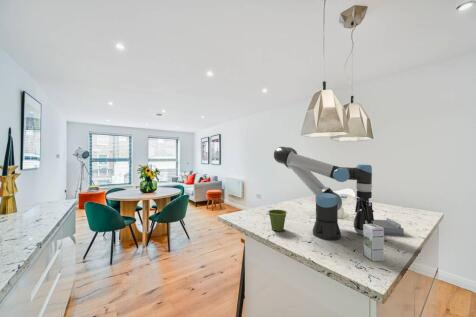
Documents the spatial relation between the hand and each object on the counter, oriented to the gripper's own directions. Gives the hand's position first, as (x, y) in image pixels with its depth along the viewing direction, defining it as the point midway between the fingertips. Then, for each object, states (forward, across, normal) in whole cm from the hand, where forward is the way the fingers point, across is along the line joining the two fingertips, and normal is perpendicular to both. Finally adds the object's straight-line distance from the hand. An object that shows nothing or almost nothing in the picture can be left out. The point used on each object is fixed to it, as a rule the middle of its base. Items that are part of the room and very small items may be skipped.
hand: (363, 228), depth 115 cm
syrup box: (+4, -29, +9) cm, 31 cm away
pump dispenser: (+4, 0, 0) cm, 4 cm away
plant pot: (+4, 0, +50) cm, 50 cm away
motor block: (+3, +12, -14) cm, 19 cm away
